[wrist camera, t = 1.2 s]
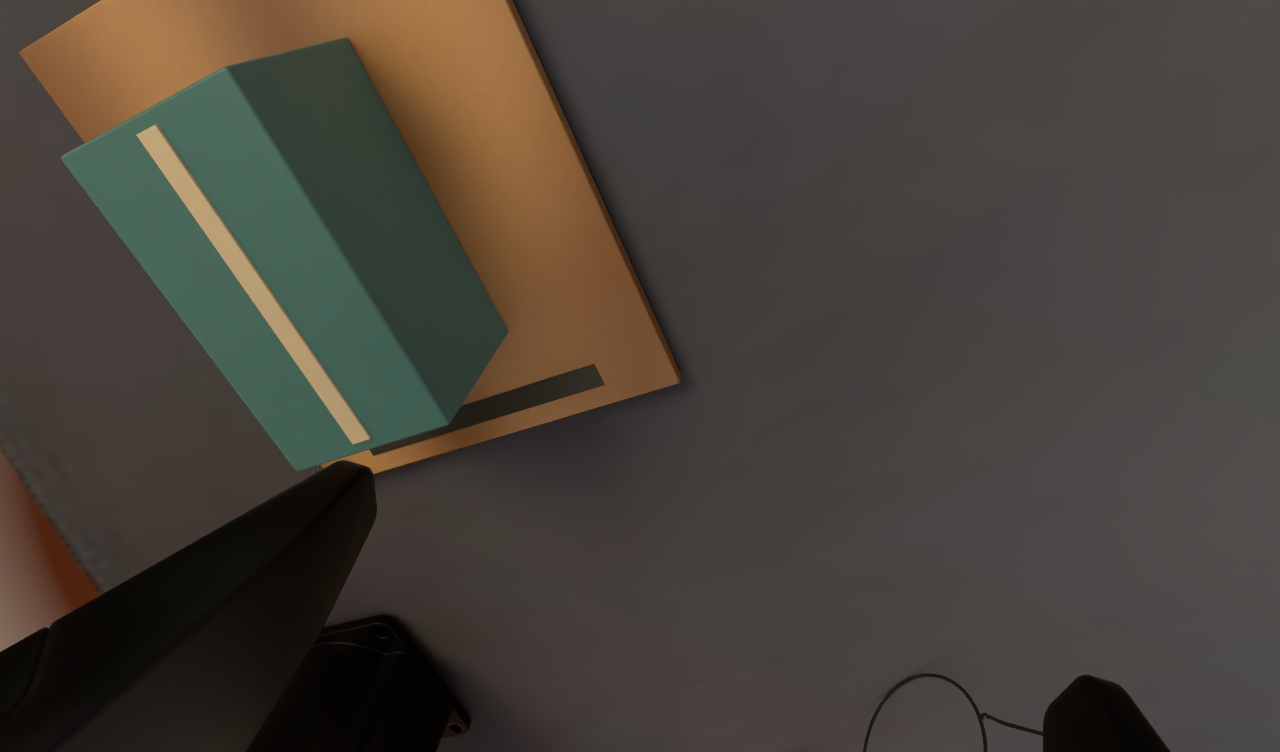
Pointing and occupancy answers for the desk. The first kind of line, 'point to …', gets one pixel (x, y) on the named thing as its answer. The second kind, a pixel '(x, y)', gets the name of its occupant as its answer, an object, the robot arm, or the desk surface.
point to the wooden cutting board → (450, 163)
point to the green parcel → (300, 250)
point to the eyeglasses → (966, 696)
